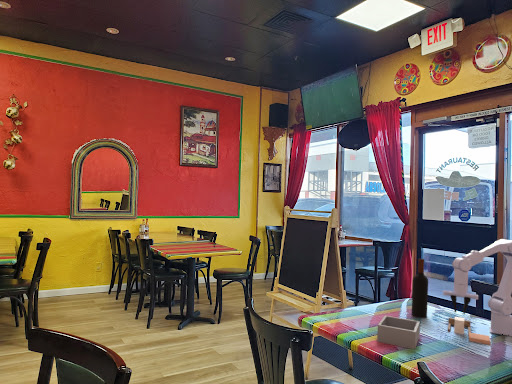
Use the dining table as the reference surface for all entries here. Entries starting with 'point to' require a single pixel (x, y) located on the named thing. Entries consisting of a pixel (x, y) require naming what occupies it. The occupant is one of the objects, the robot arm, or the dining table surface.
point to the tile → (479, 338)
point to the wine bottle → (420, 292)
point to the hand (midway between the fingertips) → (459, 312)
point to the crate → (398, 332)
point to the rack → (466, 324)
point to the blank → (459, 325)
